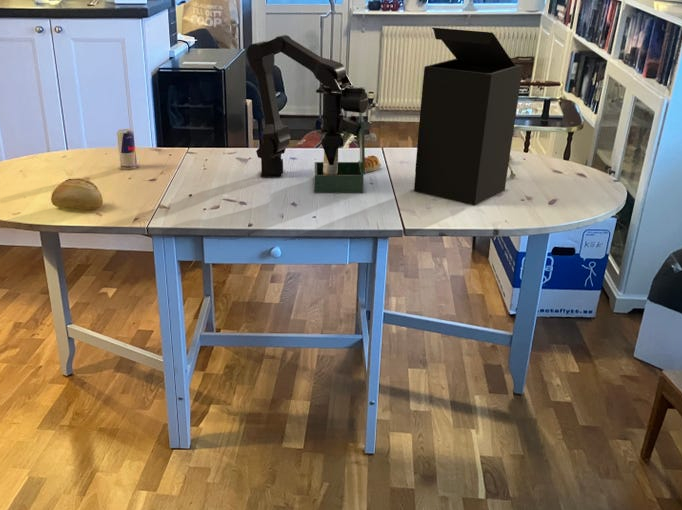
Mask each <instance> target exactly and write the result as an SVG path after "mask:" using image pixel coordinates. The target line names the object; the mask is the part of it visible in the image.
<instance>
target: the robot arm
mask: <svg viewBox="0 0 682 510" xmlns="http://www.w3.org/2000/svg"><path fill="white" fill-rule="evenodd" d="M245 52H246V53H245V54H246V55H245V56H246V59H247V62H248V66H249V68H250V69H251V71H252V72H253V73H254V75H255V77H256V82H257V87H258V93H259V99H260V103H261V110H262V115H263V120H264V127H263V131H262V144H261V145H260V146H259V147H258V148H257V150H256V151H255V152H256V156H257V158H258V159H260V164H261V166H260V167H261V168H260V169H261V170H260V171H261V172H260V177H261V178H282V175H283V174H284V159H283V158H282V155H283V154H285V152H286V149H287V148H288V146H290V142H291V141H290V140H291V139H292V137H291V135H290V127H289V125H284V124H283V122H282V121H281V117H280V112H279V110H280V109H279V104H278V99H277V93H276V88H275V81H274V76H273V70H274V65H275V55H277V54H280V53H282V54H283V55H286V56H287V57H288V58H289V59H291V60H293V61H295V62H296V63H298V64H299V65H301V66H303V67H304V68H306V69H307V70H309V71H310V72H311V73H312V74H313V76H314V77H315V79H316V80H317V81H318V82H319V83H320V84H321V85H320V86H319V87H318V88H317V89H316V90H315V93H317V94H322V111H321V112H322V113H321V117H322V118H321V122H322V123H321V124H320V134H321V135H320V136H321V137H320V138H321V147H322V149H323V153H324V152H325V154H326V157H327V159H328V162H329V165H333V164H334V159H335V155H336V151H337V148H338V149H339V148H340V147H344V136H343V135H342V134H343V133H344V132H345V133H348V134H349V135H350V134H351V135H352V136H354V137H358V136H359V130H360V128H361V125H360V123H359V121H358V120H357V116H356V115H354V114H351V115H350V116H349V117H345V116H344V112H349V113H351V112H352V113H358V114H359V113H362V114H364V113H366V112H367V109H368V106H369V97H368V94H367V92H366V87H362V86H361V87H355V86H354V84H353V83H352V81H351V79H350V78H349V76H348V74H347V71H346V67H345V65H344V64H343V63H341V62H339V61H336V60H333V59H330V58H325V57H322V56H320V55H318V54H317V53H315V52H313V51H311V49H309V48H307V47H305V46H303V45H302V44H301V43H299V42H298V41H296V40H294V39H292V38H291V37H290V36H289V35H287V34H282V35H278V36H276V37H275V38H273V39H271V40H268V41H266V40H265V41H264V40H263V41H258V42H254V43H252V44H250V45H249V46H248V47H247V49H246V51H245ZM343 111H344V112H343Z"/></svg>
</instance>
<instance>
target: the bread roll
mask: <svg viewBox="0 0 682 510" xmlns="http://www.w3.org/2000/svg"><path fill="white" fill-rule="evenodd" d="M50 202H51V204H52V206H54V207H57V208H68V209H83V210H98V209H100V208H102V207H103V203H104V199H103V195H102V192H101V191H100V190H99V188H98V186H97V185H96V184H95V183H94V182H93V181H91V180H89V179H86V178H81V177H79V178H68V179H65V180H64V181H62V182H60V183H59V184H58V185H57V186H56V187H55V188H54V189H53V191H52V192H51V196H50Z"/></svg>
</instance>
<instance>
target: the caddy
mask: <svg viewBox="0 0 682 510" xmlns="http://www.w3.org/2000/svg"><path fill="white" fill-rule="evenodd" d="M323 164H324V161H315V162H314V193H315V194H316V193H317V194H323V193H324V194H336V193H337V194H363V193H364V177H365V174H362V169H361V163H360V162H358V161H338V170H337V175H323Z"/></svg>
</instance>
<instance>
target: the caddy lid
mask: <svg viewBox="0 0 682 510" xmlns="http://www.w3.org/2000/svg"><path fill="white" fill-rule="evenodd" d="M363 115H364V114H363V113H358V122H359V123H360V125H361V128H360V130H359V133H358V136H359V160H360V163H361V169H362V174H363V175H365V174H366V172H365V156H366V154H365V148H366V147H365V142H371V143H376V142H377V136H376V134H375V132H371V133H370V134H365V120H364V116H363Z"/></svg>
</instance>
